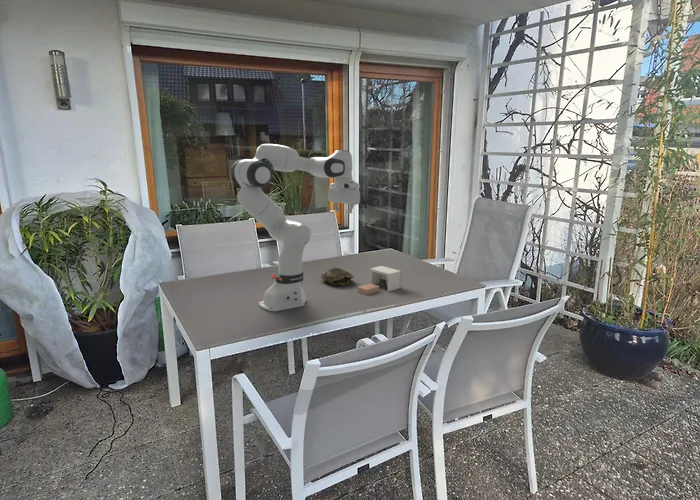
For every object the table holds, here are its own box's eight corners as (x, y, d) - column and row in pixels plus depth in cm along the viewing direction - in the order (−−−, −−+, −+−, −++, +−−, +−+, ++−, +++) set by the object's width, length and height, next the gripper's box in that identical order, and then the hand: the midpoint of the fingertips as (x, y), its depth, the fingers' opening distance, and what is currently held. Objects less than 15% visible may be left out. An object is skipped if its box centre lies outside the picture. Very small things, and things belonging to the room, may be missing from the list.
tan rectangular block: (366, 295, 219) (366, 289, 218) (357, 292, 224) (357, 286, 223) (379, 291, 225) (379, 286, 224) (370, 289, 230) (370, 283, 229)
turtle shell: (341, 265, 253) (358, 266, 235) (342, 281, 253) (359, 283, 236) (315, 268, 245) (331, 270, 228) (316, 284, 246) (332, 287, 228)
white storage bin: (389, 291, 224) (389, 273, 222) (370, 285, 234) (370, 268, 232) (400, 287, 230) (400, 270, 228) (381, 282, 240) (381, 265, 238)
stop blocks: (393, 288, 229) (393, 283, 229) (379, 284, 237) (380, 279, 236) (396, 287, 231) (396, 283, 230) (382, 283, 238) (382, 279, 237)
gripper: (324, 183, 220) (325, 210, 223) (352, 185, 206) (352, 215, 209) (334, 182, 225) (334, 209, 228) (362, 184, 210) (362, 213, 213)
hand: (343, 212), depth 218 cm, fingers open, 8 cm apart
